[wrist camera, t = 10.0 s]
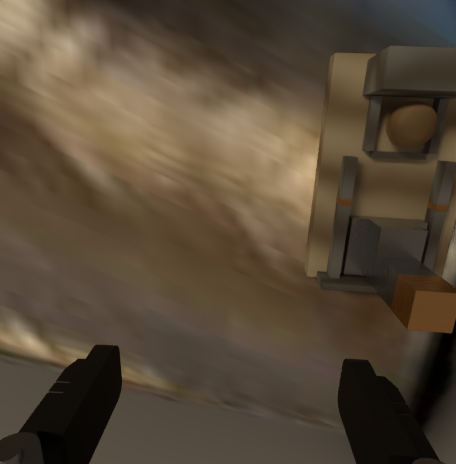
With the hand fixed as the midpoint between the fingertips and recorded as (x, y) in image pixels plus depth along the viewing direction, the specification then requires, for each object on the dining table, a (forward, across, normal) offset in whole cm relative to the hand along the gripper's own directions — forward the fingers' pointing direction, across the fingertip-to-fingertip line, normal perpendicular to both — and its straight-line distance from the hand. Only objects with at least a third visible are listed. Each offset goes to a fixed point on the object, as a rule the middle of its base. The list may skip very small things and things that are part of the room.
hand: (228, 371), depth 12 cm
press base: (+26, -15, -4) cm, 30 cm away
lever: (+23, -15, +3) cm, 28 cm away
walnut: (+24, -15, -9) cm, 30 cm away
